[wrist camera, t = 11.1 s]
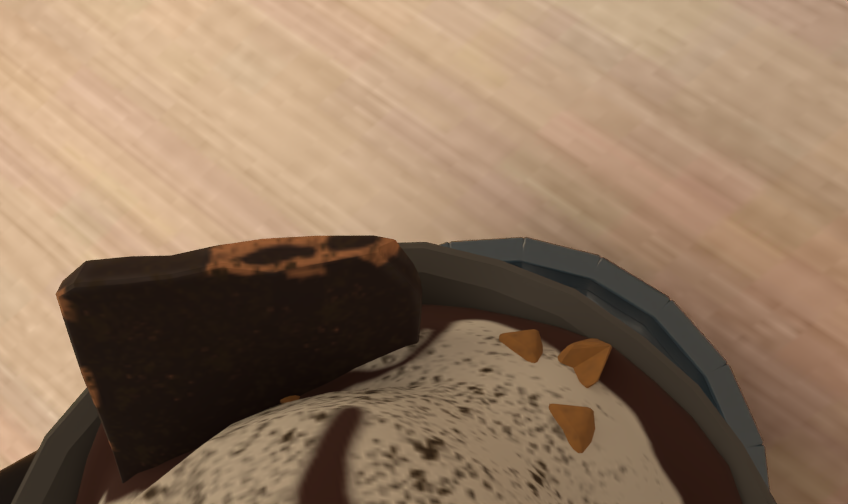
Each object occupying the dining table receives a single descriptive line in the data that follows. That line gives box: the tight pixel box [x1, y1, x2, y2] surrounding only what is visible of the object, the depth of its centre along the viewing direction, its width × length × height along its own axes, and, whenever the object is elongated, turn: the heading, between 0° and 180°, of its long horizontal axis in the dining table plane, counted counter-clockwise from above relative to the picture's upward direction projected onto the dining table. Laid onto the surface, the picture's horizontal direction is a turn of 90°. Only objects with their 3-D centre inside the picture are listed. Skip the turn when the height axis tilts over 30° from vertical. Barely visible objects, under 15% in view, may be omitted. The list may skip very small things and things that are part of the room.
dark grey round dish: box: [440, 237, 770, 491], centre depth 18 cm, size 11×11×4 cm
